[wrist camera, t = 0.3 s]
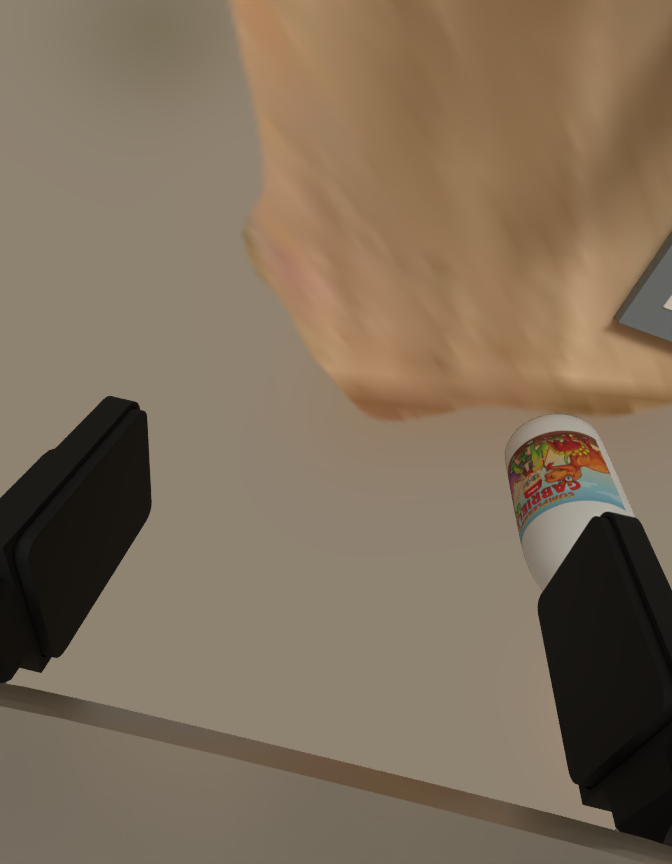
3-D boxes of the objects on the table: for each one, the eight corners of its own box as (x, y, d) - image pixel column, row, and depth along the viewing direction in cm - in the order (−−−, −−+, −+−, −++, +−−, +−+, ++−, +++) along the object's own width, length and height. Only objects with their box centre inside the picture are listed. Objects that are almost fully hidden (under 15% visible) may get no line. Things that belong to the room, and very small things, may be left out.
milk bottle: (619, 430, 43) (733, 652, 27) (565, 494, 47) (635, 717, 31) (533, 397, 42) (597, 604, 26) (487, 465, 47) (516, 677, 31)
